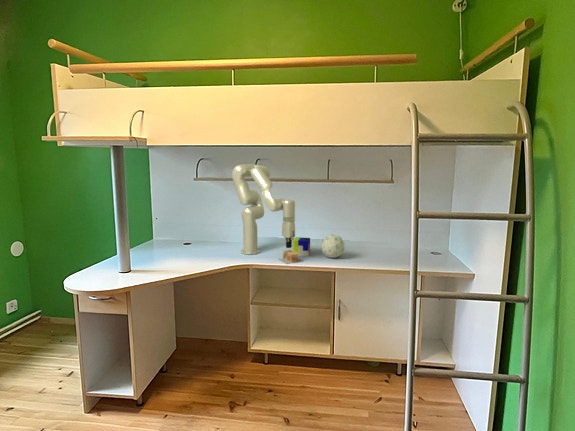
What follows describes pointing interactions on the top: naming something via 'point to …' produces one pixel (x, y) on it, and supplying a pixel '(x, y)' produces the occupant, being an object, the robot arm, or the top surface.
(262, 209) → the robot arm
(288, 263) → the rubber mat
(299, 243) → the puzzle toy
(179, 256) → the top surface
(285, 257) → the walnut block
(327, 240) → the puzzle ball
